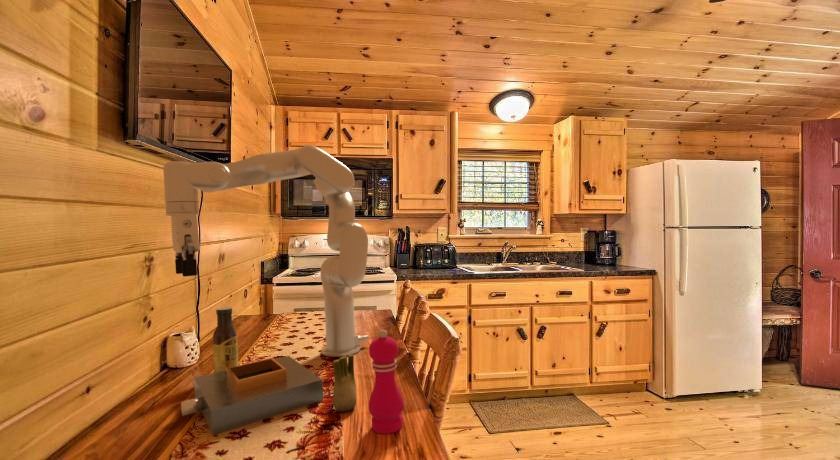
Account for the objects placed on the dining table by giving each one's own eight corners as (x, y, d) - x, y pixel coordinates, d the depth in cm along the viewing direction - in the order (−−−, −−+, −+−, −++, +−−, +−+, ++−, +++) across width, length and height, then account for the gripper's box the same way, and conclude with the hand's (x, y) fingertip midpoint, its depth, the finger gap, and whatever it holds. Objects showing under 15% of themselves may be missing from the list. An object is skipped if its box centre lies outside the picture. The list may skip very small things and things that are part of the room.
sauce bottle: (229, 384, 111) (225, 311, 110) (209, 383, 112) (205, 311, 112) (244, 375, 117) (240, 306, 117) (225, 374, 118) (221, 306, 118)
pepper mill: (370, 419, 87) (365, 326, 87) (404, 416, 88) (399, 324, 87) (368, 437, 80) (364, 335, 79) (405, 434, 80) (401, 333, 80)
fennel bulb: (355, 402, 96) (352, 351, 96) (361, 410, 91) (358, 357, 91) (330, 408, 93) (327, 356, 93) (335, 417, 89) (333, 362, 89)
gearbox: (289, 373, 117) (288, 347, 117) (323, 400, 98) (321, 369, 97) (176, 402, 100) (174, 371, 100) (190, 441, 81) (188, 404, 81)
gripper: (205, 207, 103) (209, 275, 103) (191, 210, 116) (195, 270, 116) (171, 207, 98) (175, 278, 98) (160, 211, 111) (164, 273, 111)
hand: (186, 274), depth 107 cm, fingers open, 9 cm apart
